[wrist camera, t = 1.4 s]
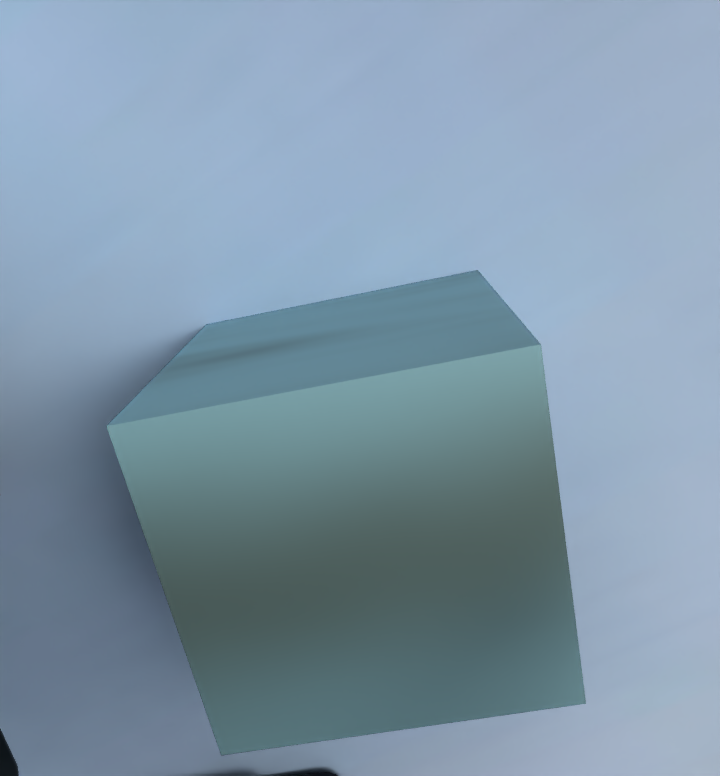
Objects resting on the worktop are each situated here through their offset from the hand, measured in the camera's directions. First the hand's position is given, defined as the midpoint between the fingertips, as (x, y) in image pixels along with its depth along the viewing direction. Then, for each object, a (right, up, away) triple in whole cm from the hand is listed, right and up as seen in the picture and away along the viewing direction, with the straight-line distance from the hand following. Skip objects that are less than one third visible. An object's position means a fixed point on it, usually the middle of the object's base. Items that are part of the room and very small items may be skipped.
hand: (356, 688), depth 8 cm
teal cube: (0, +3, +8) cm, 8 cm away
